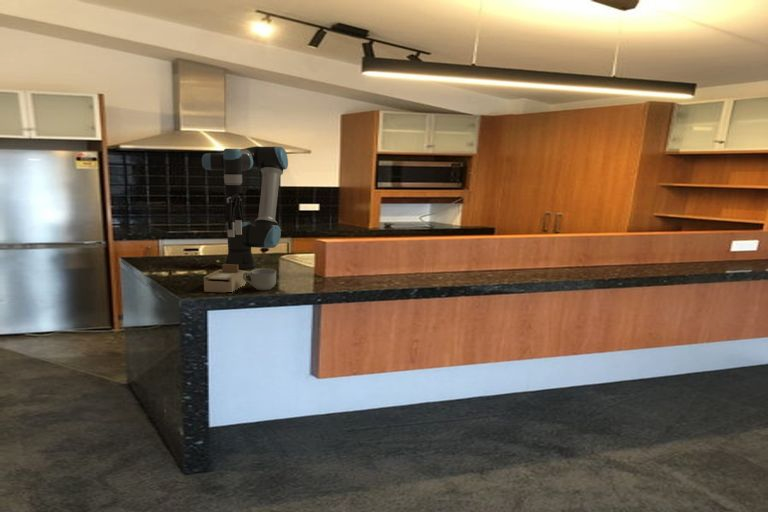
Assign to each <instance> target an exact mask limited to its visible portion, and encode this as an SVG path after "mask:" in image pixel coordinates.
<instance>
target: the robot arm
mask: <svg viewBox="0 0 768 512" xmlns="http://www.w3.org/2000/svg"><path fill="white" fill-rule="evenodd" d="M201 165H202V168H203V169H204V170H208V171H223V175H224V176H222V177H223V180H224V184H225V185H224V193H225V194H227V195H228V196H227V197H225V198H224V203H225V205H224V207H225V211H224V212H225V213H224V214H225V215H224V222H225V223H227V231H226V234H227V237H226V238H227V255H226V259H225V261H224V262H225V263H224V264H234V265H238V268H239V270H247V269H252V268H255V267H256V261H255V258H254V256H253V253H252V248H255V249H257V248H262V249H273V248H276V247H277V246H278V245H279V243H280V241H281V236H282V235H281V234H282V233H281V232H282V229H281V227H280V226H279V223H278V222H277V220H276V215H277V206H278V205H277V204H278V196H279V187H280V186H279V184H280V178H281V177H280V176H282V175H283V174H284V171H285V170H287V169H288V166H289V158H288V154H287V151H286V149H285V148H284V147H282V146H263V145H262V146H260V145H259V146H257V145H256V146H250V147H244V148H224V149H223V152H219V153H217V152H216V153H213V152H212V153H211V152H210V153H209V152H208V153H204V154H203V155H202V157H201ZM251 169H260V172H261V174H262V181H261V190H260V198H259V209H258V217H257V218H256V219H255V220H254V224H252V223H251V221H244V207H243V196H240V194H242V193H243V173H242V172H243V171H244V172H246V171H249V170H251ZM234 216H235V217H234ZM234 218H235V220H234Z"/></svg>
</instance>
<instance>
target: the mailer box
mask: <svg viewBox="0 0 768 512" xmlns="http://www.w3.org/2000/svg"><path fill="white" fill-rule="evenodd" d="M221 271H222V269H217V270H215V271H214V272H212V273H209V274H207V275H205V276H203V291H204V292H205V293H206V292H207V293H209V292H210V293H226V292H232V293H234V292H236V291H237V290H239V289H241V288H242V286H243V287H244V286H246V285H247V282H246V281H245V280H244V279H243V274H244V273H245V272H247V271H246V269H240V270H239V272H238V273H236V274H234V275H232V276H230V277H228V279H230V280H221V279H207V278H208V277H210V276H212V275H215V274H217V273H219V272H221ZM246 275H247V274H246ZM246 275H245V278H246V279H247V277H246ZM245 284H246V285H245ZM240 287H241V288H240ZM238 288H239V289H238ZM235 290H236V291H235ZM233 291H234V292H233Z"/></svg>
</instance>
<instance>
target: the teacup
mask: <svg viewBox="0 0 768 512" xmlns="http://www.w3.org/2000/svg"><path fill="white" fill-rule="evenodd" d="M245 275H248V276H249V277H250V280H249V279H248V278H247V277H246V278H245ZM243 279H244V280H245V281H246V283H248V284H249V285H250V286H252V287H253V288H255V289H256V290H257V291H269V290H271V289H272V288H274V287H275V286H276V285H277V284H276V283H277V270H276V269H274V268H254V269H252V270H251V271H246V272H245V273H244V274H243Z"/></svg>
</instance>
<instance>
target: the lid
mask: <svg viewBox="0 0 768 512" xmlns="http://www.w3.org/2000/svg"><path fill="white" fill-rule="evenodd" d="M221 270H222V271H221V272H219V273H217V274H215V275H212V276H210V277H208V278H207V279H221V280H230V279H228V277H230V276H232V275H234V274H236V273H238V272H239V271H240V269H239V268H238V265H234V264H225V263H222V264H221Z"/></svg>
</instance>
